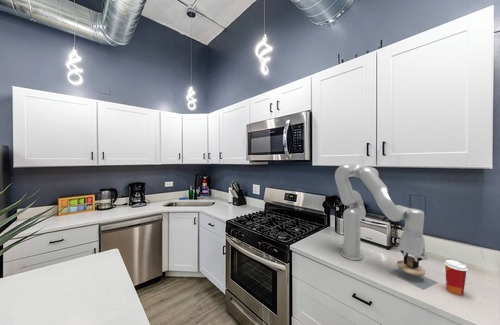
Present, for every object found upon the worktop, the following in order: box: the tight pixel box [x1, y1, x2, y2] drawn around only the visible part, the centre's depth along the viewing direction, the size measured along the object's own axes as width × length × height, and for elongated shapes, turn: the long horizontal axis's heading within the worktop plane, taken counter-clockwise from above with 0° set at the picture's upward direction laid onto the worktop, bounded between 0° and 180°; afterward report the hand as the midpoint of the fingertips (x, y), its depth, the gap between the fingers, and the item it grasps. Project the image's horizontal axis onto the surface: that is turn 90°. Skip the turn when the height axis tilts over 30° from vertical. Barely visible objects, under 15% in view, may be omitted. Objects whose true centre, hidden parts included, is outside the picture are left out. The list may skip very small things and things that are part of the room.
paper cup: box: [443, 259, 468, 296], centre depth 95 cm, size 8×8×14 cm
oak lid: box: [396, 255, 426, 276], centre depth 107 cm, size 12×12×6 cm
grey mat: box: [388, 268, 439, 290], centre depth 106 cm, size 16×14×1 cm
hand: (410, 265), depth 107 cm, fingers closed on oak lid, 3 cm apart
